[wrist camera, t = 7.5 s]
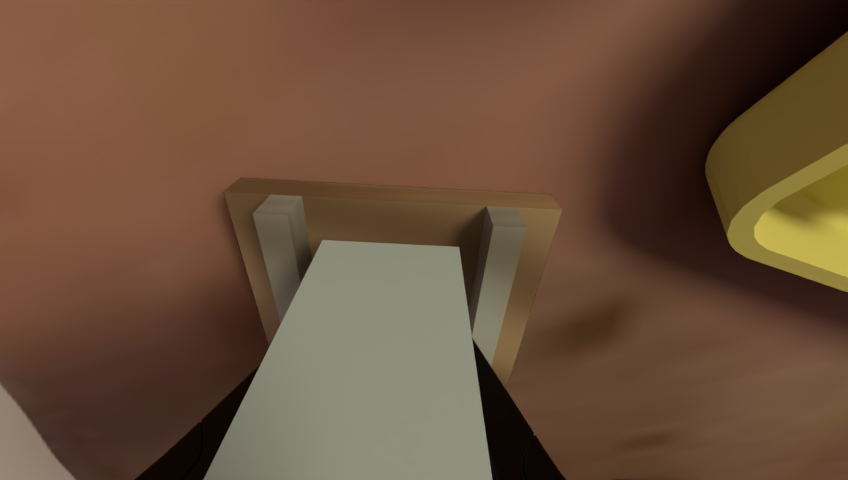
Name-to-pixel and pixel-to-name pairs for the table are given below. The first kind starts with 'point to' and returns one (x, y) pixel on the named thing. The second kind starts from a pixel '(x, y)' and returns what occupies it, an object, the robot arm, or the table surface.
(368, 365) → the grey green block
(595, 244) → the table surface
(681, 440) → the table surface
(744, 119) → the plastic component
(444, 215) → the rail
